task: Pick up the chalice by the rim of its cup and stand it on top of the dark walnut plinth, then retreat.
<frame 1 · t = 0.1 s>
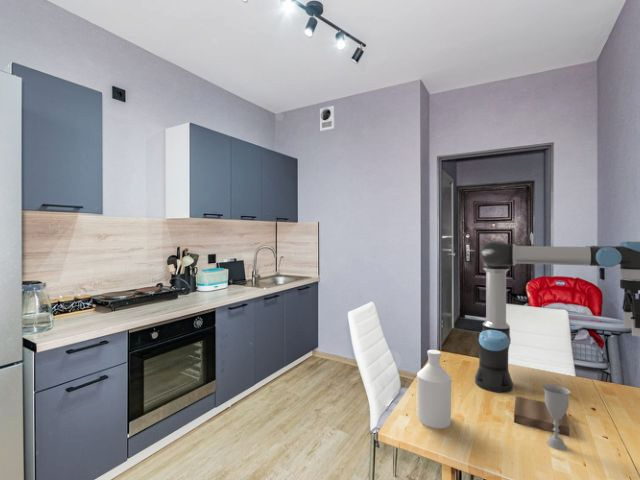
hand: (632, 331, 136), 28 cm above the table, fingers open, 13 cm apart
bottle: (434, 420, 123), on the table
plinth: (539, 418, 124), on the table
chalice: (556, 445, 108), on the table
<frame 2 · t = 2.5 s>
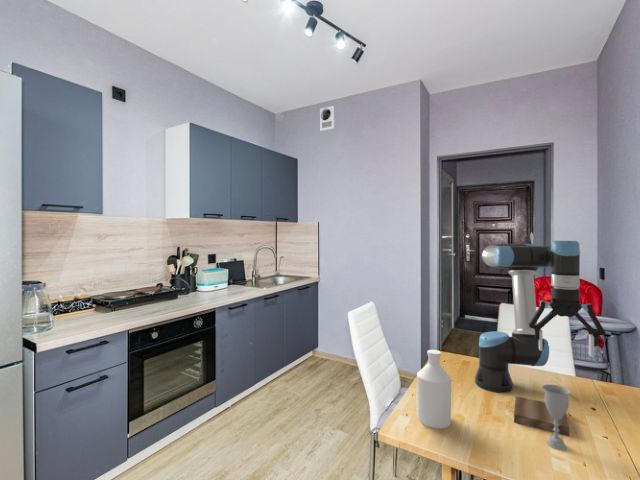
hand: (565, 352, 110), 29 cm above the table, fingers open, 13 cm apart
nothing on the table moved.
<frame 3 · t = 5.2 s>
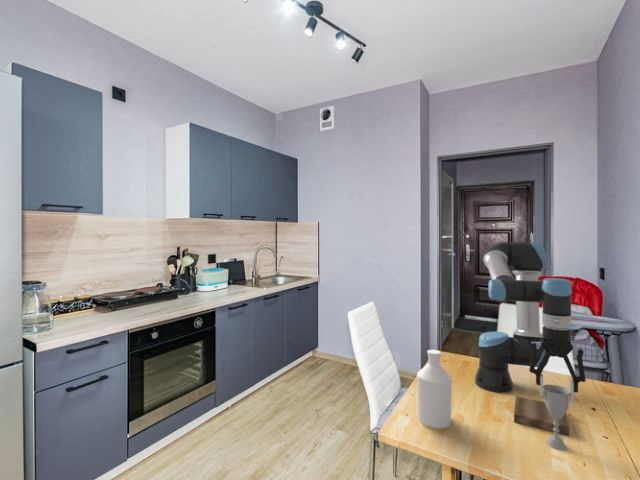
hand: (556, 398, 108), 15 cm above the table, fingers closed on chalice, 7 cm apart
chalice: (556, 445, 108), on the table, touching gripper
everything else where it was.
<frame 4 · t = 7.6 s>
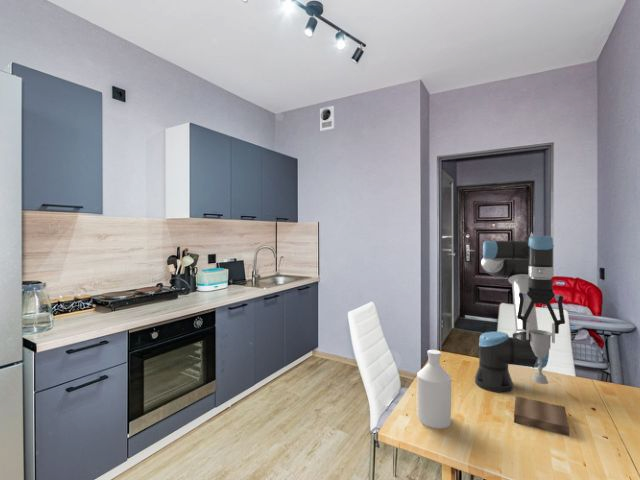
hand: (540, 340, 123), 29 cm above the table, fingers closed on chalice, 7 cm apart
chalice: (540, 381, 124), point 14 cm above the table, touching gripper
everything else where it was.
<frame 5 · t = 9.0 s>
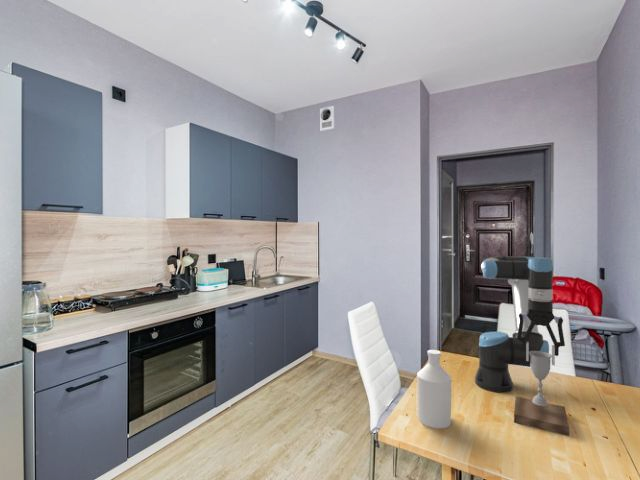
hand: (540, 361, 123), 21 cm above the table, fingers closed on chalice, 7 cm apart
chalice: (540, 403, 124), point 6 cm above the table, touching gripper
everything else where it was.
when the fingers open (19 cm above the table, at t = 10.2 s): chalice stays where it is, resting on plinth.
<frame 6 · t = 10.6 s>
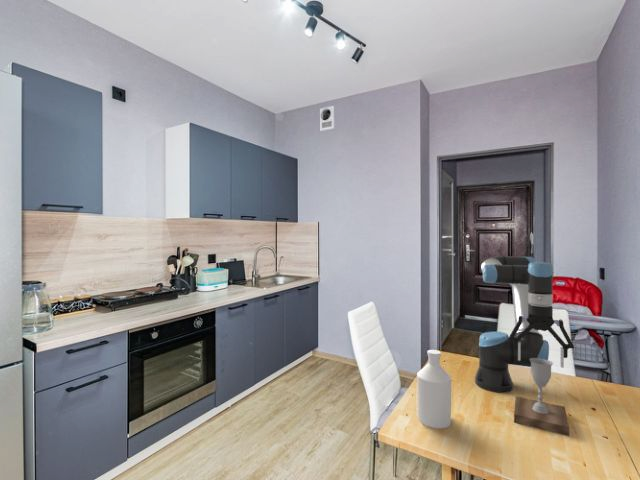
hand: (540, 362, 124), 21 cm above the table, fingers open, 12 cm apart
chalice: (540, 410, 124), point 3 cm above the table, touching plinth
everything else where it was.
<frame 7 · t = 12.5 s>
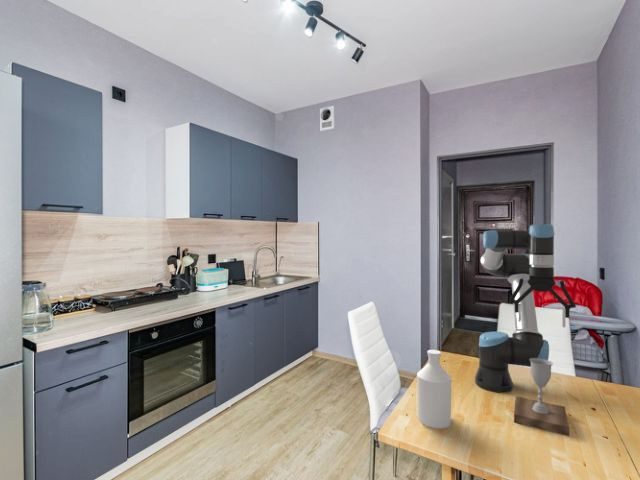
hand: (541, 324, 124), 35 cm above the table, fingers open, 13 cm apart
nothing on the table moved.
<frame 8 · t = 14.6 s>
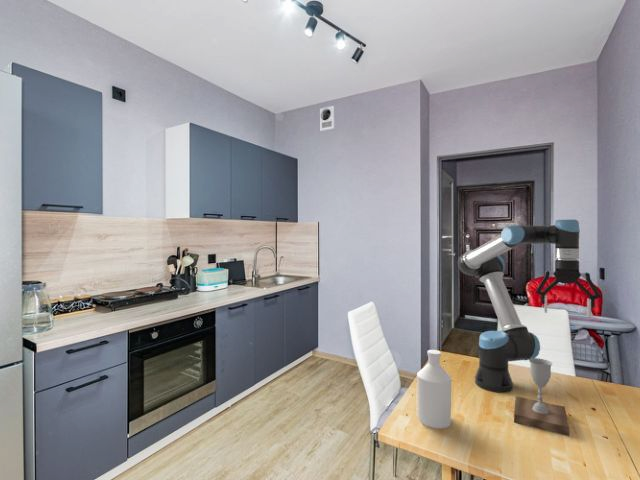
hand: (566, 314, 131), 37 cm above the table, fingers open, 13 cm apart
nothing on the table moved.
at the end: chalice inside the target area on the plinth (0.1 cm from its centre), point 2.8 cm above the plinth's base; chalice tilted 0°; the gripper is holding nothing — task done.
